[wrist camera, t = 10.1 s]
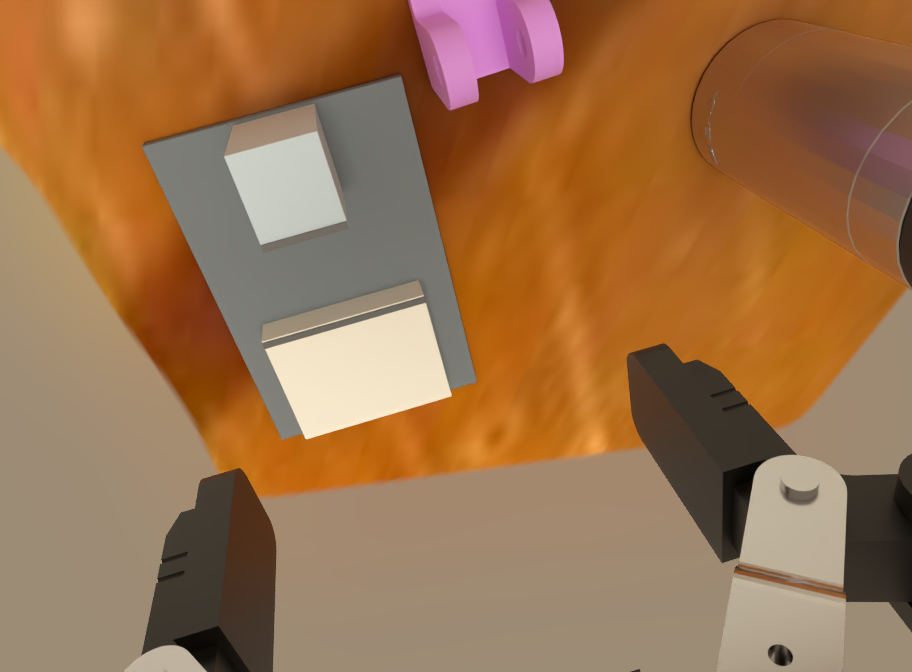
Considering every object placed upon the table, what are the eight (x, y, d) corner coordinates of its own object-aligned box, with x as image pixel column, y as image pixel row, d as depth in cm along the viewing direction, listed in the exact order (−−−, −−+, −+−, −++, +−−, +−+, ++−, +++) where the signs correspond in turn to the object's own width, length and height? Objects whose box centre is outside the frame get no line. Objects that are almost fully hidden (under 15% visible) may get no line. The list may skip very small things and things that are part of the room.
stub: (314, 103, 36) (317, 131, 32) (342, 191, 39) (348, 228, 34) (232, 125, 36) (223, 157, 31) (267, 212, 39) (263, 253, 34)
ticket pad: (399, 74, 37) (406, 84, 35) (474, 377, 49) (483, 399, 46) (144, 143, 36) (133, 159, 34) (282, 434, 48) (281, 460, 46)
